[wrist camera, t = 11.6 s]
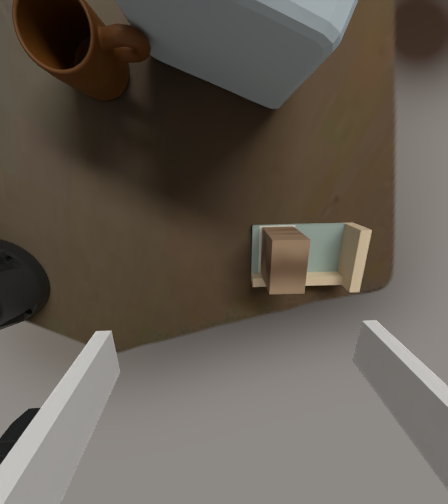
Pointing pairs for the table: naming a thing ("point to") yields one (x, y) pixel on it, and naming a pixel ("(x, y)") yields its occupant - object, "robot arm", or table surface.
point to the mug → (79, 45)
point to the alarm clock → (243, 40)
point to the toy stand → (324, 253)
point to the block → (284, 259)
